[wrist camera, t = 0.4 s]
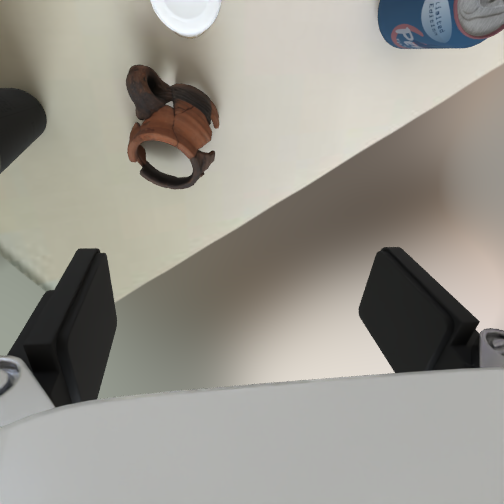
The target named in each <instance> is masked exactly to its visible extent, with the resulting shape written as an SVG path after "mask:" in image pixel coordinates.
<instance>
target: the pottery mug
mask: <svg viewBox="0 0 504 504" xmlns="http://www.w3.org/2000/svg"><path fill="white" fill-rule="evenodd" d="M126 86H127V90H128V93H129V95H130V97H131V99H132V101H133V102H134V104H135V106H136V116H137V117H138V119H140V120H144V122H143V123H142V125H141V126H140V124H139V123H138V122H136V123H135V124H134V126H133V128H132V131H131V133H130V140H129V145H128V152H127V153H128V156H129V159H130V161H131V162H137V161H138V163H139V164H140V165H141V166H142V169H141V171H140V174H141V176H143V177H144V178H145V179H147V180H148V181H150V182H152V183H154V184H156V185H158V186H161V187H165V188H170V189H185V188H188V187H191V186H193V185H194V183H196V181H197V180H198V179H199V178H200V177H201V176H203V175H204V171H205V170H207V169H208V167H209V166H210V164H211V163H212V162H213V161H214V157H215V151H211V152H209V153H205V152H201V151H199V150H198V149H199V148H202V147H203V146H204V145H205V144H207V143H208V142H209V141H210V140H211V136H212V131H211V128H210V127H209V125H210V124H211V120H212V122H213V125H214V128H218V127H219V115H218V112H217V109H216V107H215V105H214V104H213V102H212V101H211V100H210V98H209V97H208V96H207V95H206V94H204V93H203V92H202V91H201V90H199V89H197V88H195V87H193V86H191V85H186V84H175V85H172V86H169V85H168V84H166V83H165V82H163V81H162V80H161V79H160V78H159V76H158V75H157V73H156V72H155V71H154V70H153V69H152V68H150V67H148V66H144V65H134V66H132V67H131V68H130V70H129V73H128V75H127V78H126ZM170 101H173V106H174V108H172V107H170V106H169V105H165V104H166V103H168V102H170ZM148 140H156V141H162V142H165V143H168V144H170V145H173V146H175V147H177V148H178V149H179V150H181V151H182V152H183V153H184V154H185V155H186V156H187V157H188V158H189V159H190V161H191V164H192V167H193V173H192V175H191V176H189V177H180V178H177V177H175V176H171V175H167V174H164V173H162V172H160V171H158V170H157V169H155V168H154V167H153V166H152V165H151V164H150V163H149V162H148V161H146V152H145V149H144V148H143V147H142V146H141V145H140V144H141V143H142V142H144V141H148Z"/></svg>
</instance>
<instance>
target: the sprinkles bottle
mask: <svg viewBox="0 0 504 504" xmlns="http://www.w3.org/2000/svg"><path fill="white" fill-rule="evenodd" d="M150 1H151V4H152V6H153V9H154V11H155V12H156V14H157V16H158V17H159V18H160V20H161V21H162V22H163V23H164V24H165V25H166V26H167V27H169V28H170V29H171V30H173V31H174V32H175V33H176V34H178V35H179V36H181V37H185V38H196V37H198V36H200V35H201V34H203V33H204V32H205V31H206V30H207V29H208V28H209V27H210V26H211V25H212V24H213V22H214V21H215V19H216V17H217V15H218V13H219V10H220V6H221V1H222V0H150Z"/></svg>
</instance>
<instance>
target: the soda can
mask: <svg viewBox="0 0 504 504" xmlns="http://www.w3.org/2000/svg"><path fill="white" fill-rule="evenodd" d="M378 24H379V29H380V32H381V34H382V36H383V38H384V39H385V40H386V41H387V42H388V43H389V44H390V45H392V46H393V47H396V48H400V49H430V48H468V47H472V46H474V45H477V44H479V43H481V42H482V41H484V40H485V39H487V38H489V37H491V36H494V35H495V34H497V33H499V32H500V31H502V30H503V29H504V0H380V3H379V8H378Z"/></svg>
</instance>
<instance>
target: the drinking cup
mask: <svg viewBox="0 0 504 504" xmlns="http://www.w3.org/2000/svg"><path fill="white" fill-rule="evenodd" d="M46 123H47V120H46V114H45V111H44V109H43V107H42V106H41V104H40V103H39V102H38V101H37V100H36V99H35V98H34V97H33V96H32V95H30V94H29V93H27V92H25V91H23V90H20V89H14V88H0V173H1V172H2V171H4V170H5V169H6V168H7V167H8V166H9V165H10V164H11V163H12V162H13V161H14V160H15V159H16V158H17V157H18V156H19V155H20V154H21V153H22V152H23V151H24V150H25V149H26V148H27V147H29V146H30V145H31V144H32V143H33V142H34V141H35V140H36V139H37V138H38V137H39V136H40V135H41V134H42V133H43V132H44V130H45V128H46Z"/></svg>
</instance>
